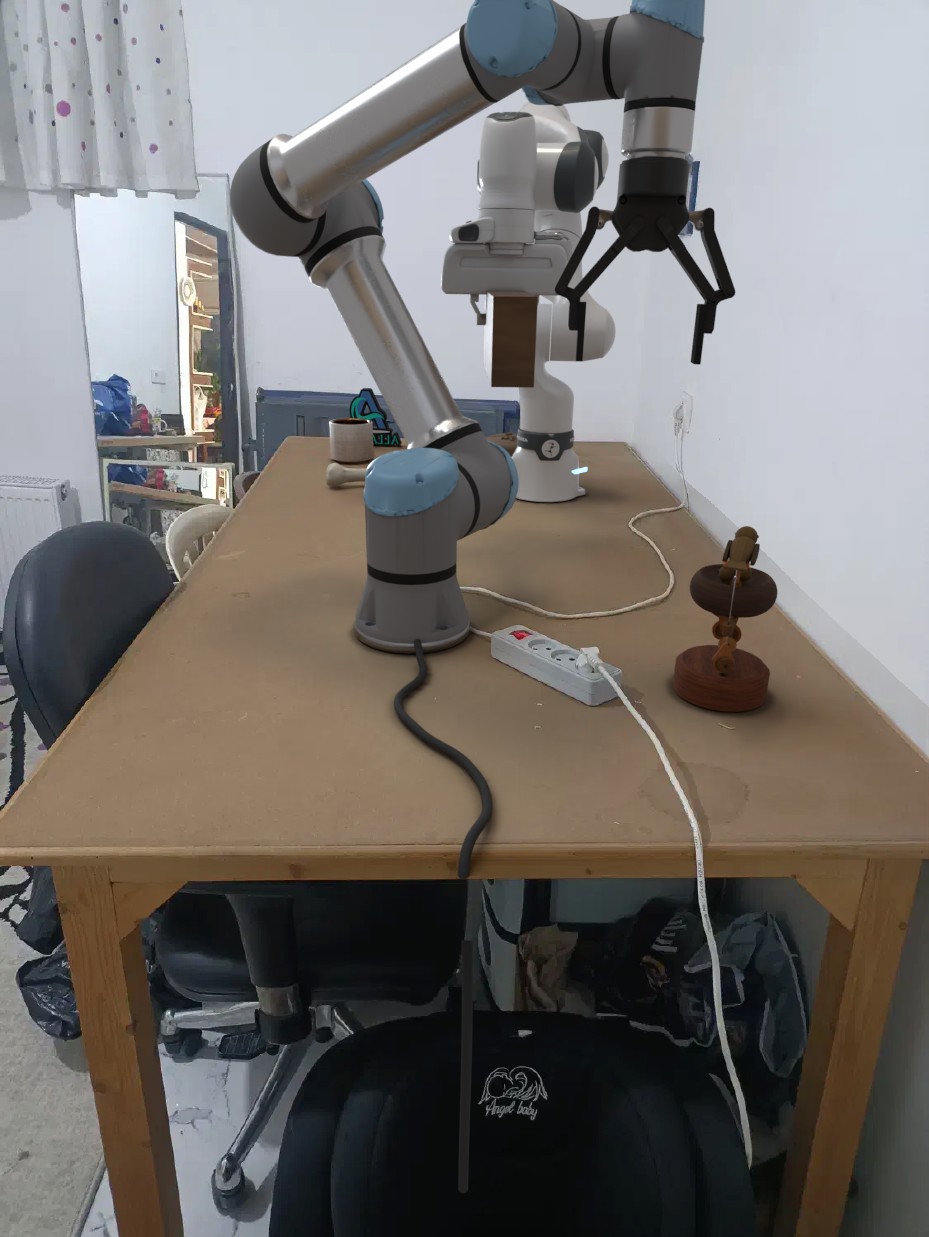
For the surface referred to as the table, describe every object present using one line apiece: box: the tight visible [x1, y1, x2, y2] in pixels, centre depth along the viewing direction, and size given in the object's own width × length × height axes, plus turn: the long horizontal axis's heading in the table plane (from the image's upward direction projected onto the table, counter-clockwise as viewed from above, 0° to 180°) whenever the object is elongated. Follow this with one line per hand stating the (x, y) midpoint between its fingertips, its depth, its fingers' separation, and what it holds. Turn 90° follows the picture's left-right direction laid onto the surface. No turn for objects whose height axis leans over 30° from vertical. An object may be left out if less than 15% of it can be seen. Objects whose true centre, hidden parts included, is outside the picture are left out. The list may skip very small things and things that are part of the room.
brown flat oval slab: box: [485, 431, 518, 457], centre depth 221 cm, size 21×28×4 cm
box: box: [482, 291, 538, 388], centre depth 128 cm, size 26×6×12 cm, turn 1°
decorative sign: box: [348, 387, 402, 447], centre depth 230 cm, size 19×2×15 cm, turn 86°
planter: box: [328, 417, 375, 464], centre depth 212 cm, size 11×11×10 cm
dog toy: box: [325, 462, 367, 487], centre depth 188 cm, size 20×6×5 cm, turn 99°
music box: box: [672, 525, 778, 713], centre depth 95 cm, size 15×11×20 cm
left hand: (636, 362), depth 100 cm, fingers open, 13 cm apart
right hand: (503, 325), depth 136 cm, fingers closed on box, 6 cm apart
